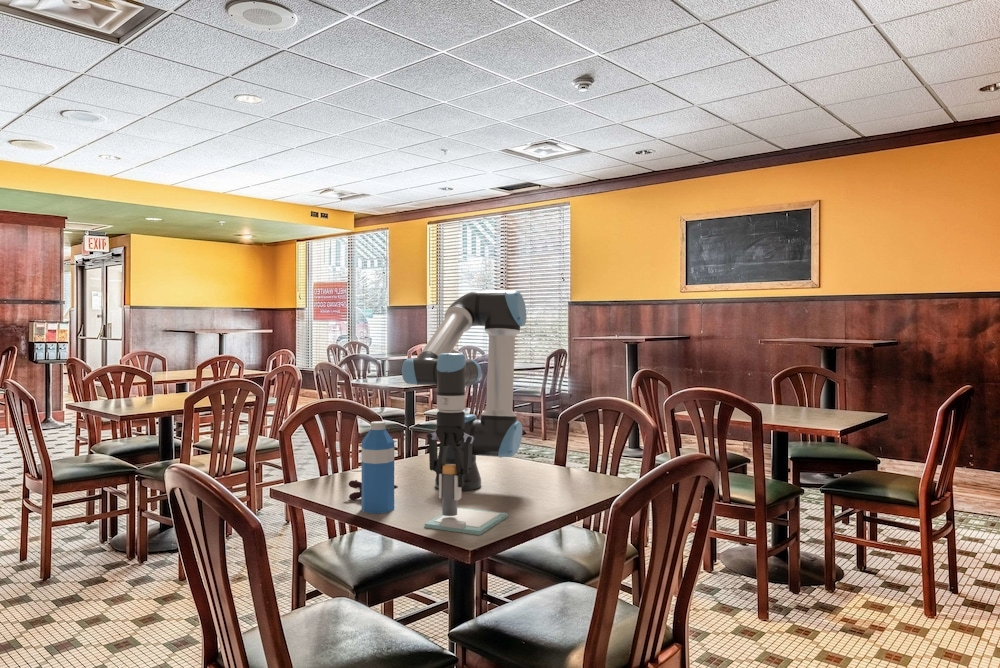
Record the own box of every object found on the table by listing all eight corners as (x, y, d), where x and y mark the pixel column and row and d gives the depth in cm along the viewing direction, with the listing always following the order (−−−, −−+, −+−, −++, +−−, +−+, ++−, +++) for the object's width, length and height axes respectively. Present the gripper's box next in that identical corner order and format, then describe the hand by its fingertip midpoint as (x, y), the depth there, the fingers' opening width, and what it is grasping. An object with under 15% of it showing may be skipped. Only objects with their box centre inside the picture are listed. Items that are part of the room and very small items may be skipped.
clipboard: (455, 510, 194) (455, 502, 194) (507, 516, 187) (507, 508, 187) (424, 527, 177) (424, 519, 177) (479, 535, 171) (479, 526, 171)
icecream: (399, 475, 210) (351, 479, 211) (394, 474, 203) (345, 478, 204) (400, 498, 209) (352, 502, 209) (395, 498, 201) (345, 502, 202)
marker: (446, 511, 184) (447, 463, 184) (460, 513, 183) (461, 464, 183) (439, 515, 180) (439, 466, 181) (453, 516, 179) (453, 467, 179)
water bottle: (396, 504, 200) (396, 420, 199) (392, 513, 190) (392, 424, 190) (364, 505, 199) (364, 420, 199) (358, 513, 190) (358, 424, 190)
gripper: (416, 410, 182) (415, 498, 182) (473, 413, 175) (472, 504, 175) (429, 407, 189) (429, 492, 188) (485, 411, 182) (484, 498, 182)
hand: (450, 498), depth 182 cm, fingers closed on marker, 4 cm apart
